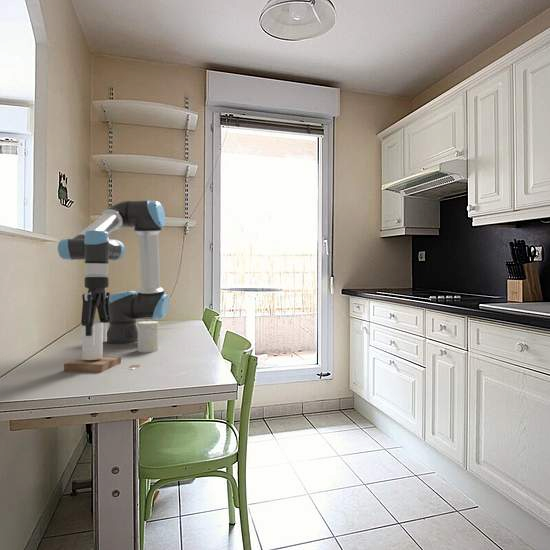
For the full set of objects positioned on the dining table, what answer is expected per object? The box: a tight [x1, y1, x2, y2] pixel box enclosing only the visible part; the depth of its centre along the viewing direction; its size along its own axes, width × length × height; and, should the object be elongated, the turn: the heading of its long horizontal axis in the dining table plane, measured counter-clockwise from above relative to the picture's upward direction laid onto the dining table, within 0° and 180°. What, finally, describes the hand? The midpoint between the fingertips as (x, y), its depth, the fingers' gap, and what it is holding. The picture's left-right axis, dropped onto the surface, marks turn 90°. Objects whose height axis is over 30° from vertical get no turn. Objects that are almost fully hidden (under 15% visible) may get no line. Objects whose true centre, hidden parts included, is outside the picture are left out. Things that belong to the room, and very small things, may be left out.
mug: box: [81, 321, 104, 360], centre depth 142 cm, size 10×7×12 cm, turn 21°
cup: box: [137, 320, 160, 353], centre depth 170 cm, size 8×8×12 cm
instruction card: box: [119, 364, 141, 372], centre depth 140 cm, size 10×7×1 cm
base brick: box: [63, 355, 122, 373], centre depth 141 cm, size 13×13×3 cm
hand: (96, 343), depth 141 cm, fingers closed on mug, 7 cm apart
